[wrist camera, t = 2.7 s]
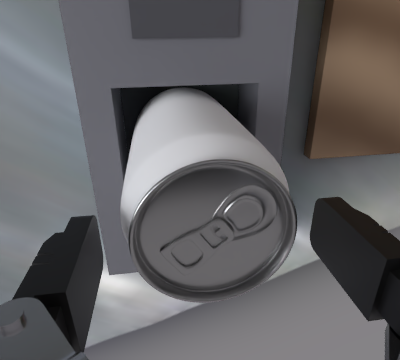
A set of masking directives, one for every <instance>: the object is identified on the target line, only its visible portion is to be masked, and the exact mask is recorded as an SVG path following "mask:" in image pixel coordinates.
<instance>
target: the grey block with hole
mask: <svg viewBox="0 0 400 360" xmlns="http://www.w3.org/2000/svg"><path fill="white" fill-rule="evenodd" d="M298 1H299V0H59V6H60V11H61V17H62V22H63V27H64V33H65V38H66V44H67V49H68V54H69V60H70V65H71V71H72V76H73V81H74V87H75V92H76V98H77V103H78V108H79V114H80V119H81V125H82V130H83V136H84V141H85V146H86V152H87V157H88V163H89V168H90V173H91V179H92V184H93V190H94V195H95V200H96V206H97V211H98V217H99V222H100V228H101V233H102V238H103V244H104V249H105V255H106V260H107V265H108V271H109V275H115V274H124V273H134V272H138V271H137V269H136V267H135V265H134V263H133V261H132V258H131V255H130V251H129V245H128V243H127V241H126V238H125V236H124V233H123V229H122V225H121V215H120V206H121V197H122V190H123V184H124V179H125V173H126V168H127V163H128V150H127V142H126V134H125V125H124V117H123V109H122V101H121V93H120V88H130V87H158V86H187V85H216V84H239V94H238V119H237V121H238V122H240V123H241V124H242V125H243V126H244V127H245V128H246V129H247V130H248V131H249V132H250V133H251V134H252V135H253V136H254V137H255V138H256V139H257V140H258V141H259V142H260V143H261V144H262V145H263V146H264V147H265V148H266V149H267V150H268V151H269V152H270V154H271V155H272V156H273V157H274V158H275V160H276V161H277V162H278V164H279V166H281V157H282V148H283V139H284V130H285V121H286V111H287V102H288V93H289V84H290V75H291V66H292V56H293V47H294V38H295V29H296V20H297V11H298Z"/></svg>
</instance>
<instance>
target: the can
mask: <svg viewBox="0 0 400 360" xmlns="http://www.w3.org/2000/svg"><path fill="white" fill-rule="evenodd" d="M120 215H121V225H122V229H123V233H124V236H125V238H126V241H127V243H128V245H129V251H130V255H131V258H132V261H133V263H134V265H135V267H136V269H137V271H138V272H139V274H140V275H141V276H142V277H143V278H144V280H145V281H146V282H147V283H149V284H150V285H151V286H152V287H153V288H155V289H156V290H158V291H160V292H161V293H163V294H165V295H168V296H170V297H173V298H176V299H179V300H183V301H189V302H201V303H205V302H217V301H223V300H227V299H231V298H234V297H237V296H239V295H242V294H245V293H247V292H249V291H251V290H253V289H255V288H256V287H258V286H259V285H261V284H262V283H264V282H265V281H266V280H268V279H269V278H270V277H271V276H272V275H273V274H274V273H275V272H276V271H277V270H278V269H279V268H280V266H281V265H282V264H283V263H284V261H285V260H286V258H287V256H288V255H289V253H290V251H291V248H292V246H293V243H294V240H295V236H296V231H297V215H296V209H295V206H294V203H293V200H292V198H291V196H290V194H289V188H288V183H287V180H286V177H285V175H284V173H283V171H282V169H281V167H280V166H279V164H278V162H277V161H276V160H275V158H274V157H273V156H272V155H271V154H270V152H269V151H268V150H267V149H266V148H265V147H264V146H263V145H262V144H261V143H260V142H259V141H258V140H257V139H256V138H255V137H254V136H253V135H252V134H251V133H250V132H249V131H248V130H247V129H246V128H245V127H244V126H243V125H242V124H241V123H240V122H238V121H237V120H236V119H235V118H234V117H233V116H232V115H231V114H230V113H229V112H228V111H227V110H226V109H225V108H224V107H223V106H222V105H221V104H219V103H218V102H217V101H216V100H215V99H214V98H213V97H211V96H210V95H208V94H207V93H205V92H203V91H200V90H197V89H194V88H187V87H180V88H173V89H169V90H166V91H163V92H161V93H159V94H158V95H156V96H155V97H153V98H152V99H151V100H150V101H149V102H148V103H147V104H146V105H145V106H144V107H143V109H142V110H141V112H140V114H139V116H138V118H137V121H136V125H135V129H134V133H133V138H132V143H131V148H130V153H129V158H128V163H127V168H126V173H125V179H124V184H123V190H122V197H121V206H120Z"/></svg>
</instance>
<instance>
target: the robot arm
mask: <svg viewBox="0 0 400 360" xmlns="http://www.w3.org/2000/svg"><path fill="white" fill-rule="evenodd" d="M310 241H311V245H312V248H313V250H314V251H315V252H316V254H317V255H318V256H319V258H320V259H321V260H322V262H323V263H324V264H325V265H326V267H327V268H328V269H329V271H330V272H331V273H332V275H333V276H334V277H335V278H336V280H337V281H338V282H339V284H340V285H341V286H342V288H343V289H344V290H345V292H346V293H347V294H348V296H349V297H350V298H351V299H352V301H353V302H354V303H355V305H356V306H357V307H358V309H359V310H360V311H361V312H362V314H363V315H364V317H365V318H366V319H367V320H368V321H372V320H380V319H385V320H386V321H387V323H388V324H387V327H386V330H385V360H400V241H399V240H398V239H397V238H396V237H394V236H393V235H392V234H391V233H388V231H387V230H386V229H384V228H383V227H382V226H379V224H378V223H377V222H376V221H375V220H373V219H372V218H371V217H370V216H368V215H366V214H364V213H362V212H360V211H358V210H356V209H354V208H352V207H351V206H350V205H349V204H348V203H347V202H345V201H344V200H343V199H342V198H340V197H331V198H319V199H318V200H317V201H316V203H315V207H314V213H313V219H312V225H311V231H310ZM102 270H103V252H102V246H101V240H100V235H99V229H98V224H97V219H96V217H95V216H94V215H92V216H79V217H71V219H70V221H69V223H68V225H67V227H66V229H65V231H64V232H61V233H55V234H54V235H52V236H51V237H50V238H49V239H48V240H46V241H45V242H44V243H43V245H42V247H41V248H40V250H39V252H38V254H37V256H36V257H35V259H34V261H33V263H32V266H30V268H29V270H28V272H27V274H26V276H25V277H24V279H23V281H22V283H21V285H20V286H19V288H18V290H17V292H16V294H15V295H14V297H13V299H12V300H11V301H8V302H6V303H4V304H2V305H0V360H88V358H87V357H86V355H85V354H84V353H83V352H84V349H85V344H86V340H87V336H88V331H89V327H90V322H91V318H92V314H93V309H94V305H95V301H96V296H97V292H98V288H99V283H100V279H101V275H102Z"/></svg>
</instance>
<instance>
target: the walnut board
mask: <svg viewBox="0 0 400 360" xmlns="http://www.w3.org/2000/svg"><path fill="white" fill-rule="evenodd" d="M392 153H400V0H326V1H325V8H324V15H323V22H322V29H321V36H320V43H319V50H318V57H317V64H316V71H315V78H314V85H313V92H312V99H311V106H310V114H309V121H308V128H307V135H306V142H305V149H304V155H305V156H307V157H308V158H309V159H318V158H333V157H347V156H362V155H377V154H392Z"/></svg>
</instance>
